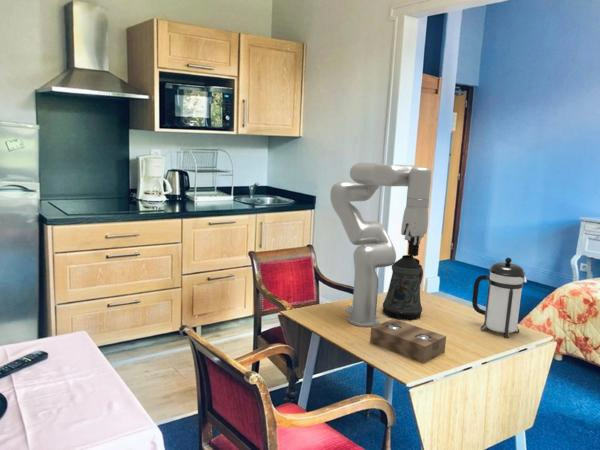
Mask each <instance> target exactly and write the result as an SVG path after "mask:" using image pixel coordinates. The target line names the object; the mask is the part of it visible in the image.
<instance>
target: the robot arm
mask: <svg viewBox="0 0 600 450" xmlns="http://www.w3.org/2000/svg"><path fill="white" fill-rule="evenodd" d="M349 177H350V179H351V180H343V181H339V182H336V183H334V184H333V185H332V186H331V188H330V193H329V195H330V197H329V198H330V203H331V207H332V208H333V210H334V212H335V213H336V215H337V216H338V218H339V219H340V222H341V223H342V226H343V229H344V231H345V233H346V235H347V238H348V239H349V242H350V244H352V245H354V246H356V248H355V249H354V251H353V255H352V257H353V263H354V278H353V279H354V281H353V298H352V306H351V305H347V306H346V308H345V312H347V313H349V315H348V317H347V321H348V322H349V323H350V324H352V325H354V326H359V327H365V328H366V327H369V328H371V327H373V326H376V325H378V324H380V318H378V317H377V307H378V306H377V305H378V293H379V276H378V274H377V272H376V269H377V268H378V269H379V268H387V267H390V266H391V267H392V265H393V264H394V263H395V262H396V261H397V253H396V249H395V247H394V245H393V242H392V241H391V238H390V236H389V234H388V232H387V230H386V228H385V227H384V225H383V224H382V223H381V222H379V221H376V220H373V221H370V220H369V221H368V220H364V218H363V217H362V214H361V212H360V210H359V209H358V208H357V207H356V206H355V205H353V204H352V203H351V202H367V201H368V200H370V199H371V198H372V197H373V196H374V194H375V193H376V191H377V190H378V189H379V188H380V187H382V186H383V187H407V190H406V191H407V192H406V205H405V208H404V212H403V217H402V222H401V228H400V229H401V230H400V231H401V232H400V233H401V235H402V236H404V240H405V241H407V243H408V247H407V249H408V250H407V255H411V256H413V257H416V256H419V252H420V251H419V250H420V244H421V240H422V239H423V238H424V237H425V235H426V234H427V232H428V224H429V207H430V206H429V205H430V193H431V184H432V182H431V181H432V170H431V169H430V168H429V167H422V166H421V167H420V166H416V165H412V164H411V165H410V164H384V163H382V162H357V163H354V164H353V165H352V166H351V168H350V169H349Z"/></svg>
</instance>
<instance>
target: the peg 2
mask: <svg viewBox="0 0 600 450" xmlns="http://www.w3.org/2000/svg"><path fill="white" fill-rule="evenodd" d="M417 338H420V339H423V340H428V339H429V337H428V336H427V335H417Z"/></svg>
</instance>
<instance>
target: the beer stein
mask: <svg viewBox="0 0 600 450" xmlns="http://www.w3.org/2000/svg"><path fill="white" fill-rule="evenodd" d="M420 262H421V261H420V259H418V258H415V256H411V255H408V254H407V255H406V254H404V255H402V256H401V258H400V259H398V260H395V262H394V264H393V265H391V270H392V272H391V273H392V274H391V277H390V282H389V285H388V290H387V292H386V295H385V298H384V301H383V303H382V310H383V311H382V312H383V314H384V315H385V316H387V317H389V318H391V319H396V320H399V321H414V320H418V319H419V318H421V314H422V312H423V307H422V303H421V284H422V283H423V277H424V270H423V267H422V266H423V265H421V263H420Z"/></svg>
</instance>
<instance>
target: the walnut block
mask: <svg viewBox="0 0 600 450" xmlns="http://www.w3.org/2000/svg"><path fill="white" fill-rule="evenodd" d="M389 325H397V326H399V329H397V330H394V329H391V328H388V326H389ZM417 335H427V336H428V337H429V339H428V340H423V339H420V338H417ZM446 340H447V335H443V334H441V333H439V332H436V331H435V332H434V331H431V330H429V329H426V328H423V327H421V326H417V325H413V324H411V323H407V322H404V321H403V320H398V319H394V318H391V319H389V320H386V321H384V322H382V323H379V324H378V325H376V326H371V327H370V338H369V343H370V345H373V346H377V347H379V348H382V349H385V350H387V351H390V352H392V353H395V354H397V355H400V356H403V357H405V358H408V359H411V360H413V361H416V362H419V363H421V364H423V365H424V364H426V363H427V362H429V361H431V360H433V359H435V358H436V357H439V356H441V355H442V354H444V353H445V352H446V342H447V341H446Z"/></svg>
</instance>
